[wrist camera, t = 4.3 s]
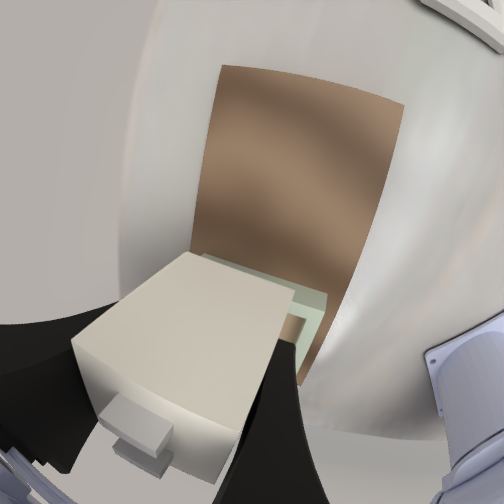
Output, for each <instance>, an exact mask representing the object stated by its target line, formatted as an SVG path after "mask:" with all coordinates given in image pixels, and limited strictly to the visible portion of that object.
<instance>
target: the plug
mask: <svg viewBox="0 0 504 504" xmlns="http://www.w3.org/2000/svg"><path fill="white" fill-rule="evenodd" d="M294 293H295V290H293V289H290V288H287V287H285V286H282V285H279V284H276V283H273V282H270V281H267V280H265V279H262V278H259V277H256V276H253V275H251V274H248V273H245V272H242V271H239V270H237V269H234V268H231V267H228V266H226V265H223V264H220V263H217V262H215V261H212V260H209V259H206V258H204V257H201V256H198V255H196V254H193V253H190V252H187V251H186V252H185V253H183V254H182V255H180V256H179V257H178V258H176V259H175V260H174V261H172V262H171V263H169V264H168V265H167V266H165V267H164V268H163V269H161V270H160V271H159V272H157V273H156V274H155V275H153V276H152V277H151V278H149V279H148V280H147V281H145V282H144V283H143V284H141V285H140V286H139V287H137V288H136V289H135V290H133V291H132V292H131V293H129V294H128V295H127V296H126V297H124V298H123V299H122V300H120V301H119V302H118V303H116V304H115V305H114V306H113V307H111V308H110V309H109V310H107V311H106V312H105V313H104V314H102V315H101V316H100V317H99V318H97V319H96V320H95V321H93V322H92V323H91V324H90V325H88V326H87V327H86V328H85V329H83V330H82V331H81V332H80V333H79V334H77V335H76V336H75V337H74V338H72V339H71V342H72V346H73V349H74V353H75V356H76V360H77V363H78V366H79V369H80V372H81V375H82V378H83V381H84V384H85V387H86V390H87V393H88V395H89V398H90V401H91V403H92V406H93V408H94V411H95V413H96V415H97V418H98V420H99V423H100V424H101V425H102V426H103V427H105V428H106V429H108V430H109V431H111V432H112V433H114V434H115V435H117V436H119V437H120V438H119V439H118V440H117V441H116V443H115V444H114V445H113V449H114V451H115V453H116V454H117V455H119V456H120V457H122V458H124V459H125V460H127V461H129V462H130V463H132V464H134V465H135V466H137V467H139V468H140V469H142V470H144V471H146V472H148V473H150V474H151V475H153V476H155V477H157V478H159V479H161V478H162V476H163V474H164V473H165V471H166V470H167V468H168V466H169V465H170V466H173V467H175V468H177V469H179V470H181V471H183V472H185V473H187V474H190V475H192V476H194V477H197V478H199V479H201V480H204V481H206V482H209V483H211V484H215V482H216V480H217V478H218V477H219V475H220V472H221V471H222V469H223V467H224V465H225V463H226V461H227V459H228V457H229V455H230V453H231V451H232V448H233V446H234V444H235V442H236V440H237V438H238V436H239V434H240V432H241V429H242V427H243V425H244V422H245V420H246V418H247V415H248V413H249V411H250V408H251V406H252V403H253V401H254V399H255V396H256V394H257V391H258V389H259V386H260V384H261V381H262V379H263V376H264V374H265V371H266V369H267V366H268V364H269V361H270V358H271V356H272V353H273V351H274V348H275V345H276V343H277V340H278V337H279V335H280V332H281V329H282V326H283V324H284V321H285V318H286V315H287V313H288V310H289V307H290V304H291V301H292V298H293V295H294Z"/></svg>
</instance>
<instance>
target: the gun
mask: <svg viewBox="0 0 504 504" xmlns="http://www.w3.org/2000/svg"><path fill="white" fill-rule="evenodd" d="M420 1H421V3H423V4H425V5H427V6H429V7H431V8H433V9H434V10H436V11H438V12H440V13H442V14H443V15H445V16H447V17H448V18H450V19H452V20H453V21H455V22H456V23H458V24H460V25H461V26H463V27H464V28H466V29H467V30H469V31H470V32H472V33H473V34H474V35H476V36H477V37H479V38H480V39H481V40H483V41H484V42H485V43H487V44H488V45H489V46H491V47H492V48H493V49H495V50H496V51H497V52H498V53H500V54H502V53H504V0H488V3H489V6H488V5H487V4H485V3H484V2H483V1H481V0H420Z"/></svg>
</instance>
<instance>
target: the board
mask: <svg viewBox="0 0 504 504" xmlns="http://www.w3.org/2000/svg"><path fill="white" fill-rule="evenodd" d="M403 109H404V105H403V104H400V103H397V102H395V101H392V100H389V99H386V98H383V97H380V96H377V95H374V94H371V93H368V92H365V91H362V90H358V89H355V88H351V87H348V86H344V85H341V84H337V83H333V82H329V81H325V80H320V79H316V78H311V77H307V76H302V75H296V74H291V73H285V72H279V71H273V70H266V69H259V68H250V67H241V66H230V65H222V68H221V72H220V76H219V81H218V85H217V90H216V94H215V99H214V104H213V109H212V114H211V119H210V124H209V129H208V135H207V140H206V146H205V151H204V157H203V163H202V169H201V176H200V182H199V188H198V195H197V202H196V209H195V216H194V224H193V232H192V240H191V248H190V253H193V254H196V255H198V256H201V255H203V254H204V253H205V254H208V255H211V256H214V257H217V258H220V259H223V260H226V261H229V262H232V263H235V264H238V265H241V266H244V267H247V268H250V269H253V270H256V271H259V272H262V273H265V274H268V275H271V276H274V277H277V278H280V279H283V280H286V281H290V282H293V283H296V284H299V285H302V286H305V287H308V288H311V289H314V290H317V291H321V292H324V293H327V302H326V310H325V314H324V316H323V318H322V321H321V323H320V325H319V327H318V330H317V332H316V334H315V336H314V339H313V341H312V343H311V345H310V347H309V350H308V352H307V354H306V356H305V358H304V360H303V362H302V364H301V366H300V369H299V371H298V373H297V375H296V379H297V385H298V386H301V385H302V383H303V381H304V379H305V377H306V375H307V373H308V371H309V369H310V368H311V366H312V364H313V362H314V360H315V358H316V356H317V354H318V352H319V350H320V348H321V346H322V344H323V342H324V339H325V337H326V335H327V333H328V331H329V329H330V327H331V325H332V322H333V320H334V318H335V316H336V314H337V311H338V309H339V307H340V304H341V302H342V300H343V298H344V295H345V293H346V290H347V288H348V286H349V283H350V281H351V278H352V276H353V273H354V271H355V268H356V266H357V263H358V261H359V258H360V255H361V253H362V250H363V247H364V245H365V242H366V239H367V236H368V233H369V231H370V228H371V225H372V222H373V219H374V216H375V213H376V210H377V207H378V204H379V201H380V197H381V194H382V191H383V188H384V184H385V181H386V178H387V174H388V171H389V167H390V163H391V160H392V156H393V152H394V148H395V144H396V140H397V136H398V132H399V128H400V123H401V119H402V114H403Z"/></svg>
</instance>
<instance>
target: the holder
mask: <svg viewBox="0 0 504 504" xmlns="http://www.w3.org/2000/svg"><path fill="white" fill-rule="evenodd" d="M201 257H204V258H206V259H209V260H212V261H215V262H217V263H220V264H223V265H226V266H228V267H231V268H234V269H237V270H239V271H242V272H245V273H248V274H251V275H253V276H256V277H259V278H262V279H265V280H267V281H270V282H273V283H276V284H279V285H282V286H285V287H287V288H290V289H293V290H295V293H294V295H293V298H292V301H291V304H290V307H289V310H288V313H287V315H286V318H285V321H284V324H283V326H282V329H281V332H280V335H279V337H278V338H279V339H282V340H285V341H288V342H291V343H294V344H295V346H296V375H297V373H298V371H299V369H300V366H301V364H302V362H303V360H304V358H305V356H306V354H307V352H308V350H309V347H310V345H311V343H312V341H313V339H314V336H315V334H316V332H317V330H318V327H319V325H320V323H321V321H322V318H323V316H324V314H325V310H326V302H327V293H324V292H321V291H317V290H314V289H311V288H308V287H305V286H302V285H299V284H296V283H293V282H290V281H286V280H283V279H280V278H277V277H274V276H271V275H268V274H265V273H262V272H259V271H256V270H253V269H250V268H247V267H244V266H241V265H238V264H235V263H232V262H229V261H226V260H223V259H220V258H217V257H214V256H211V255H208V254H205V253H204V254H203V255H201Z"/></svg>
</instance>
